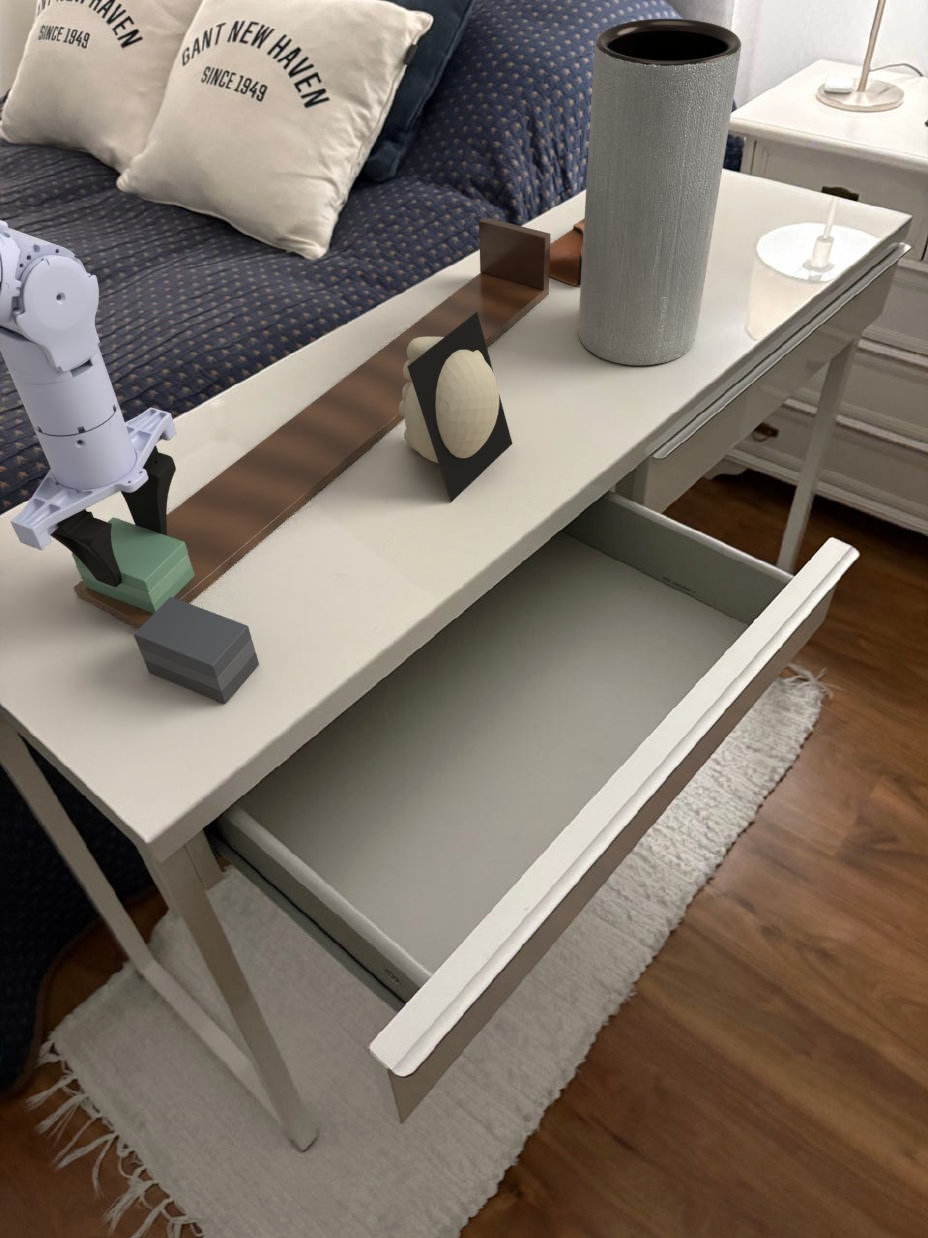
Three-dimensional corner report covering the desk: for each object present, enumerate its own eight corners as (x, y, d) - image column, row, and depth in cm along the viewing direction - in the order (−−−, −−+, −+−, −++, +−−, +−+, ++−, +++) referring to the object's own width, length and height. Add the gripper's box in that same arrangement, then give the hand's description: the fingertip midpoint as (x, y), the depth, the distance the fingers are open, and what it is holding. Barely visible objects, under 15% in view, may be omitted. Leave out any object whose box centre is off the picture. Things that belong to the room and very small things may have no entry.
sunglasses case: (605, 208, 121) (633, 168, 116) (644, 248, 121) (674, 210, 116) (523, 265, 112) (549, 224, 106) (565, 309, 112) (594, 269, 106)
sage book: (148, 592, 72) (144, 581, 71) (76, 565, 75) (70, 553, 74) (188, 553, 75) (184, 541, 74) (117, 527, 78) (112, 516, 77)
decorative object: (387, 493, 88) (449, 438, 94) (477, 505, 82) (537, 445, 87) (340, 364, 81) (410, 312, 86) (434, 367, 74) (504, 310, 80)
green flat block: (156, 615, 74) (148, 593, 72) (85, 587, 76) (75, 565, 75) (195, 575, 77) (188, 553, 75) (125, 550, 79) (116, 528, 78)
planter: (718, 331, 101) (770, 33, 81) (651, 381, 95) (689, 72, 75) (622, 295, 107) (649, 9, 87) (554, 340, 101) (565, 44, 81)
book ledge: (151, 636, 74) (124, 570, 69) (76, 596, 77) (46, 529, 72) (548, 294, 108) (550, 233, 103) (485, 276, 111) (484, 216, 106)
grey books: (225, 704, 69) (212, 666, 66) (148, 672, 71) (132, 634, 68) (259, 664, 71) (248, 625, 68) (184, 634, 74) (170, 596, 71)
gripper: (42, 489, 59) (109, 637, 69) (189, 370, 68) (229, 517, 78) (-41, 460, 62) (35, 608, 72) (112, 349, 70) (161, 494, 80)
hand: (132, 559), depth 75 cm, fingers closed on sage book, 5 cm apart
